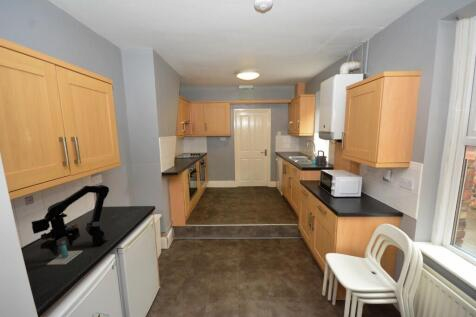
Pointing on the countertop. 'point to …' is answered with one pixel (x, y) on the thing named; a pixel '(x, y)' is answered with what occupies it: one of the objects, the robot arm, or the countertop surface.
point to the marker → (63, 249)
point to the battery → (77, 232)
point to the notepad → (60, 261)
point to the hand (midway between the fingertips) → (63, 250)
